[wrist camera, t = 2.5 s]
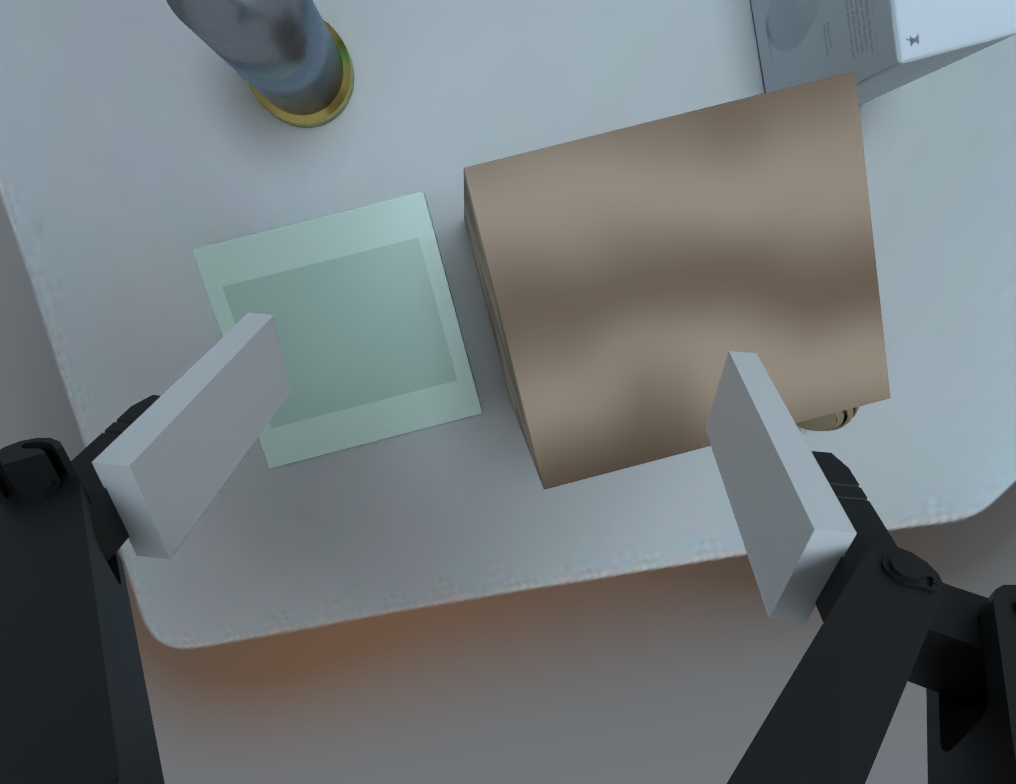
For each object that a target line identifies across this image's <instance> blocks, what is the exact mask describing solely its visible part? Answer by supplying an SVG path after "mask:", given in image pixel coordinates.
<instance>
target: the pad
mask: <svg viewBox="0 0 1016 784" xmlns="http://www.w3.org/2000/svg"><path fill="white" fill-rule="evenodd" d="M192 252H193V255H194V258H195V261H196V263H197V266H198V269H199V272H200V275H201V277H202V280H203V283H204V286H205V289H206V291H207V294H208V297H209V300H210V303H211V306H212V308H213V311H214V314H215V317H216V320H217V322H218V325H219V328H220V331H221V334H222V337H223V336H224V335H226V334H227V333H228V332H229V331H230V330H231V329H232V328H233V327H234V326H235V325H236V324H237V323H238V322H239V321H240V320H241V319H242V318H243V317H244V316H245V315H247V314H248V313H260V314H272V315H274V317H275V322H276V326H277V331H278V336H279V341H280V346H281V350H282V355H283V360H284V365H285V370H286V374H287V379H288V384H289V389H290V394H289V395H288V396H287V398H286V399H285V400H284V402H283V403H282V405H281V406H280V407H279V409H278V410H277V412H276V413H275V414H274V416H273V417H272V419H271V420H270V421H269V423H268V424H267V425H266V427H265V428H264V430H263V431H262V432H261V434H260V435H259V437H258V438H259V441H260V444H261V446H262V449H263V452H264V455H265V458H266V461H267V463H268V466H269V469H270V468H274V467H278V466H282V465H286V464H289V463H293V462H297V461H301V460H305V459H309V458H313V457H316V456H320V455H324V454H328V453H332V452H336V451H339V450H343V449H347V448H351V447H355V446H359V445H363V444H366V443H370V442H374V441H378V440H382V439H386V438H389V437H393V436H397V435H401V434H405V433H409V432H413V431H416V430H420V429H424V428H428V427H432V426H436V425H440V424H443V423H447V422H451V421H455V420H459V419H463V418H466V417H470V416H474V415H478V414H482V409H481V405H480V402H479V398H478V394H477V390H476V387H475V383H474V379H473V375H472V372H471V368H470V364H469V360H468V356H467V353H466V349H465V345H464V341H463V338H462V334H461V330H460V326H459V323H458V319H457V315H456V311H455V308H454V304H453V300H452V296H451V292H450V289H449V285H448V281H447V277H446V274H445V270H444V266H443V262H442V259H441V255H440V251H439V247H438V244H437V240H436V236H435V232H434V228H433V225H432V221H431V217H430V213H429V210H428V206H427V202H426V198H425V195H424V192H423V191H422V192H418V193H414V194H410V195H406V196H402V197H398V198H394V199H390V200H386V201H382V202H378V203H374V204H370V205H366V206H362V207H358V208H354V209H350V210H346V211H342V212H338V213H334V214H330V215H326V216H322V217H318V218H314V219H310V220H306V221H302V222H298V223H294V224H290V225H286V226H282V227H278V228H274V229H270V230H266V231H262V232H258V233H254V234H250V235H246V236H241V237H237V238H233V239H229V240H225V241H221V242H217V243H213V244H209V245H205V246H201V247H197V248H193V249H192Z"/></svg>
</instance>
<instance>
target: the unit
mask: <svg viewBox="0 0 1016 784" xmlns="http://www.w3.org/2000/svg"><path fill="white" fill-rule="evenodd" d="M464 219H465V223H466V227H467V231H468V235H469V239H470V243H471V247H472V251H473V255H474V258H475V262H476V266H477V270H478V274H479V278H480V282H481V286H482V290H483V294H484V298H485V302H486V306H487V310H488V314H489V318H490V322H491V325H492V329H493V333H494V337H495V341H496V345H497V349H498V353H499V357H500V361H501V365H502V369H503V373H504V377H505V381H506V385H507V389H508V392H509V396H510V400H511V404H512V406H513V409H514V412H515V414H516V417H517V420H518V422H519V425H520V427H521V430H522V433H523V435H524V438H525V441H526V443H527V446H528V449H529V451H530V454H531V457H532V459H533V462H534V465H535V467H536V470H537V472H538V475H539V478H540V480H541V483H542V486H543V488H544V489H548V488H552V487H556V486H559V485H563V484H567V483H571V482H575V481H578V480H582V479H586V478H590V477H593V476H597V475H601V474H605V473H609V472H612V471H616V470H620V469H624V468H628V467H631V466H635V465H639V464H643V463H647V462H650V461H654V460H658V459H662V458H665V457H669V456H673V455H677V454H681V453H684V452H688V451H692V450H696V449H700V448H703V447H707V446H711V444H710V441H709V438H708V435H707V432H706V429H705V427H706V424H707V421H708V417H709V414H710V411H711V408H712V404H713V401H714V398H715V395H716V391H717V388H718V385H719V381H720V378H721V375H722V372H723V368H724V365H725V362H726V358H727V355H728V352H729V351H735V352H748V353H757V355H758V357H759V359H760V361H761V362H762V364H763V366H764V368H765V370H766V371H767V373H768V375H769V377H770V379H771V380H772V382H773V384H774V386H775V388H776V389H777V391H778V393H779V395H780V396H781V398H782V400H783V402H784V404H785V405H786V407H787V409H788V411H789V413H790V414H791V416H792V418H793V420H794V422H795V423H798V422H802V421H806V420H809V419H813V418H817V417H821V416H825V415H828V414H832V413H836V412H840V411H844V410H847V409H851V408H855V407H859V406H862V405H866V404H870V403H874V402H878V401H881V400H885V399H889V398H890V389H889V380H888V371H887V362H886V353H885V343H884V334H883V325H882V316H881V307H880V297H879V288H878V279H877V270H876V260H875V251H874V242H873V233H872V224H871V214H870V205H869V196H868V187H867V178H866V168H865V159H864V150H863V141H862V131H861V122H860V113H859V104H858V95H857V85H856V76H855V71H852V72H848V73H844V74H840V75H836V76H832V77H828V78H824V79H820V80H816V81H812V82H808V83H804V84H800V85H796V86H792V87H788V88H784V89H780V90H776V91H772V92H768V93H764V94H760V95H756V96H752V97H748V98H744V99H740V100H736V101H732V102H728V103H724V104H720V105H715V106H711V107H707V108H703V109H699V110H695V111H691V112H687V113H683V114H679V115H675V116H671V117H667V118H663V119H659V120H655V121H651V122H647V123H643V124H639V125H635V126H631V127H627V128H623V129H619V130H615V131H611V132H607V133H603V134H599V135H595V136H591V137H587V138H583V139H579V140H575V141H571V142H567V143H563V144H559V145H555V146H551V147H547V148H543V149H539V150H535V151H531V152H527V153H523V154H519V155H515V156H511V157H507V158H503V159H498V160H494V161H490V162H486V163H482V164H478V165H474V166H470V167H466V168H464Z"/></svg>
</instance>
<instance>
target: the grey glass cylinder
mask: <svg viewBox="0 0 1016 784" xmlns="http://www.w3.org/2000/svg"><path fill="white" fill-rule="evenodd" d="M166 1H167V3H168V4H169V6H170V7H171V9H172V10H173V12H174V13H175V14H176V15H177V16H178V18H179V19H180V20H181V21H182V22H183V23H184V24H185V25H187V26H188V27H189V28H190V29H191V30H192V31H193V32H194V33H195V34H196V35H197V36H199V37H200V38H201V39H202V40H203V41H204V42H205V43H206V44H207V45H208V46H209V47H210V48H212V49H213V50H214V51H215V52H216V53H217V54H218V55H219V56H220V57H221V58H222V59H224V60H225V61H226V62H227V63H228V64H229V65H230V66H231V67H232V68H233V69H234V70H236V71H237V72H238V73H239V74H240V75H241V76H242V77H243V78H244V79H245V80H246V81H247V82H249V85H250V87H251V89H252V91H253V93H254V94H255V96H256V97H257V99H258V100H259V101H260V103H261V104H262V105H263V106H264V107H265V108H266V109H268V110H269V111H270V112H271V113H272V114H273V115H274V116H276V117H277V118H279V119H280V120H282V121H284V122H286V123H288V124H291V125H294V126H298V127H317V126H321V125H324V124H326V123H328V122H330V121H332V120H333V119H335V118H336V117H337V116H338V115H339V114H340V113H341V112H342V111H343V110H344V109H345V107H346V105H347V104H348V102H349V100H350V97H351V94H352V91H353V85H354V70H353V65H352V61H351V58H350V55H349V53H348V51H347V49H346V47H345V45H344V43H343V41H342V40H341V38H340V36H339V35H338V34H337V32H336V31H335V30H334V29H333V28H332V27H331V26H330V25H329V24H328V23H327V22H325V21H324V20H323V19H322V17H321V16H320V14H319V12H318V10H317V8H316V6H315V5H314V3H313V1H312V0H166Z"/></svg>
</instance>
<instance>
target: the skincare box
mask: <svg viewBox="0 0 1016 784" xmlns="http://www.w3.org/2000/svg"><path fill="white" fill-rule="evenodd" d="M751 5H752V12H753V18H754V24H755V30H756V36H757V42H758V49H759V55H760V61H761V67H762V73H763V78H764V84H765V90H766V93H768V92H772V91H776V90H780V89H784V88H788V87H792V86H796V85H800V84H804V83H808V82H812V81H816V80H820V79H824V78H828V77H832V76H836V75H840V74H844V73H848V72H852V71H855V76H856V85H857V95H858V104H859V105H861V104H863V103H865V102H868V101H870V100H872V99H874V98H876V97H878V96H881V95H883V94H885V93H887V92H890V91H892V90H894V89H896V88H898V87H901V86H903V85H905V84H907V83H909V82H912V81H914V80H916V79H918V78H921V77H923V76H925V75H927V74H929V73H931V72H934V71H936V70H938V69H940V68H942V67H944V66H947V65H949V64H951V63H953V62H956V61H958V60H960V59H962V58H964V57H967V56H969V55H971V54H973V53H975V52H977V51H980V50H982V49H984V48H986V47H988V46H991V45H993V44H995V43H997V42H999V41H1002V40H1004V39H1006V38H1008V37H1010V36H1013V35H1015V34H1016V0H751Z"/></svg>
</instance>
